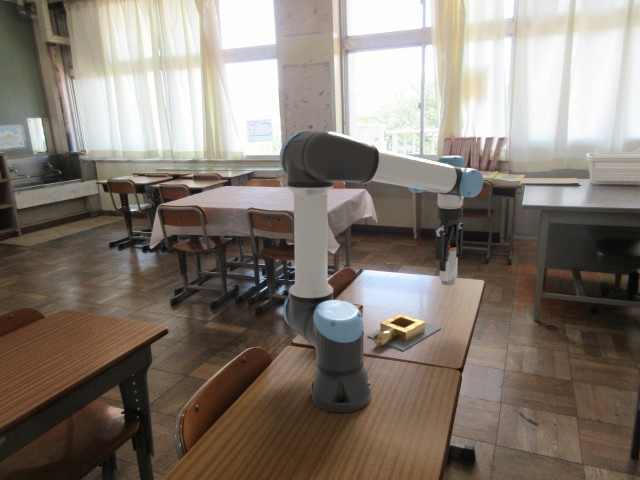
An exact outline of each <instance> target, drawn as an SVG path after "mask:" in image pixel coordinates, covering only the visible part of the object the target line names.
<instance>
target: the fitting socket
mask: <svg viewBox="0 0 640 480" xmlns="http://www.w3.org/2000/svg"><path fill="white" fill-rule="evenodd" d="M425 323H426V321H424V320H421V319H417V318H415V317H411V316H409V315H405V314H403V313H398V314H395V315H393V316H392V317H389V318H387V319H386V320H383V321H380V323H379V324H380V327H379V330H380V333H379V334H377V335H375V336H374V339H373V342H374V344H375V345H376V346H377V347H383V346H384V345H386V343H388V342H390V341H391V340H393V339H396V340H399V341H401V342H404V343H407V342H409V341H411V340H412V339H414V338H416V337H417V336H419V335H421V334H423V333H424V332H425ZM402 327H403V328H402Z"/></svg>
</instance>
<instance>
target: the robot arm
mask: <svg viewBox="0 0 640 480" xmlns="http://www.w3.org/2000/svg"><path fill="white" fill-rule="evenodd" d="M279 162H280V166H281V168H282V170H283V172H285V174H286V177H287V178H286V179H287V181H286V182H287V184H286V185H287V188H288V189H289V190H290V191H291V192H292V193H293V219H294V220H293V229H294V232H293V233H294V237H293V238H294V242H293V243H294V284H293V285H291V286H290V288H289V294H288V297H287V298H286V299H285V300H284V303H283V308H282V309H283V311H282V312H283V318H284V320H285V322H286V323H287V325H288V326H289V328H290V329H291V330H292V331H293V332H295V333H296V334H298V335H299V336H301V337H302V338H303V339H304V340H305V341H307V342H308V343H309V344H310V345H312V346H313V347H314V349H315V356H316V357H315V358H316V370H315V373H314V377H313V381H312V383H311V389H310V390H311V399H312V400H311V401H312V402H313V403H314V404H315V406H317V407H318V408H319V407H320V408H319V409H321V408H322V409H321V410H323V409H325V410H324V411H326V410H328V411H327V412H329V411H332V412H331V413H335V412H343V413H342V414H344V413H346V412H347V413H351V412H356V411H359V410H361V409H363V408H364V407H366V406H367V405H368V404H369V403H370V401H371V400H372V395H373V393H372V383H371V381H370V379H369V377H368V374H367V371H366V368H365V363H364V357H365V355H364V334H363V331H364V328H365V327H364V321H363V316H362V314H361V312H360V310H359V309H358V308H357V307H356V306H355V305H353V304H354V303H352V302H349V301H346V300H343V301H342V300H341V299H334V288H333V287H332V285H330V284H329V282H328V194H329V192H330V191H331V190H332V189H333V188H334V183H356V184H364V185H365V184H368V183H370V182H371V181H372V182H376V183H383V184H388V185H389V184H390V185H393V186H394V185H395V186H401V187H406V188H407V189H408V190H409V191H410V192H412V193H414V194H415V193H416V194H417V193H420V194H421V193H423V192H424V193H425V192H427V193H428V192H429V193H434V194H437V205H438V208H437V216H436V217H437V219H438V220H439V221H440V225H439V228H438V229H434V236H435V239H434V242H435V243H434V244H435V245H434V246H435V247H434V259H435V260H436V261H439V276H438V277H439V280H440V281H441V280H443V281H448V269H449V261H447V257H448V251H449V245H452V246H456V278H457V277H458V260H459V259H458V258H461V257H462V253H463V241H464V238H463V237H464V227H465V223H462V222H460V221H461V220H462V219H463V217H464V216H463V215H464V208H463V205H464V198H474V197H476V196H478V195H479V194H480V193H481V191H482V190H483V184H484V175H483V174H482V172H481V171H480V170H478V169H476V168H471V167H465V158H464V157H463V156H462V155H443V156H440V157H439V158H438V161H434V160H429V159H425V158H421V157H416V156H412V155H407V154H403V153H400V152H395V151H390V150H386V149H381V148H379V147H378V146H377V144H375V142H370V141H367V140H363V139H361V138H357V137H353V136H351V135H347V134H344V133H341V132H337V131H332V130H323V131H316V130H315V131H314V130H313V131H311V130H310V131H309V130H306V131H305V130H304V131H301V132H297V133H293V134H291V136H289V137H288V138H287V139H286V140H285V141H284V143H283V145H282V146H281V149H280V152H279Z"/></svg>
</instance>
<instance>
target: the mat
mask: <svg viewBox="0 0 640 480" xmlns="http://www.w3.org/2000/svg"><path fill="white" fill-rule="evenodd" d="M402 328H403V327H402ZM441 329H442V328H441V327H439V326H437V325H433V324H432V323H427V322H425V332H424V333H423V334H421V335H419V336H417V337H416V338H414V339H412V340H411V341H409V342H407V343H404V342H401V341H399V340H396V339H393V340H391V341H390V342H388V343H386V344H385V345H387V346H389V347H391V348H393V349H396V350H399V351H401V352H405V351H406V350H408V349H409V348H411V347H414V345H417V344H418V343H420V342H422V341H423V340H424V339H426V338H428V337H430V336H431V335H433V334H435V333H436V332H439V331H440V330H441ZM379 333H380V329H378V330H376V331H374V332H372V333H370V334H368V335H367V338H369V339H372V340H374V336H375V335H377V334H379Z"/></svg>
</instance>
